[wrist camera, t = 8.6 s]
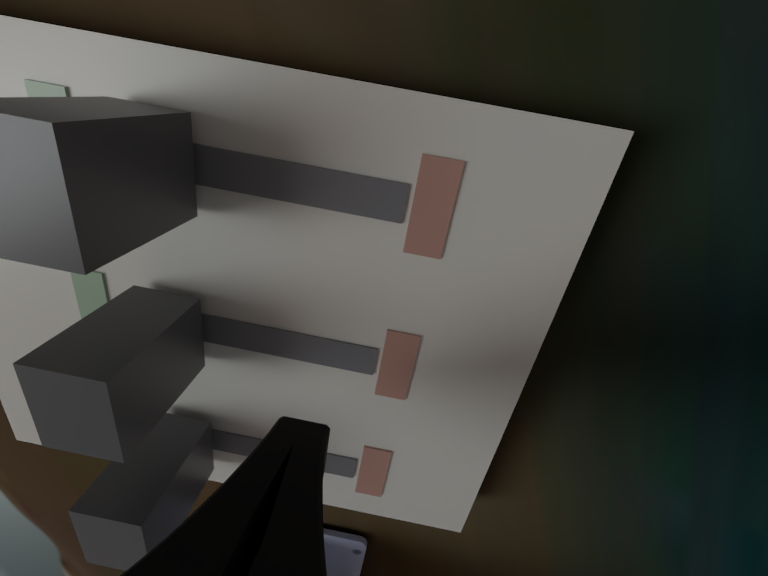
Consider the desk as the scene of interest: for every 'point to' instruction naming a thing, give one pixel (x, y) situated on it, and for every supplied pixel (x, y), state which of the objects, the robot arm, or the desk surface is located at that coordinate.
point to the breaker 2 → (144, 493)
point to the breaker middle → (114, 373)
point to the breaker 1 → (90, 178)
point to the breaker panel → (333, 259)
